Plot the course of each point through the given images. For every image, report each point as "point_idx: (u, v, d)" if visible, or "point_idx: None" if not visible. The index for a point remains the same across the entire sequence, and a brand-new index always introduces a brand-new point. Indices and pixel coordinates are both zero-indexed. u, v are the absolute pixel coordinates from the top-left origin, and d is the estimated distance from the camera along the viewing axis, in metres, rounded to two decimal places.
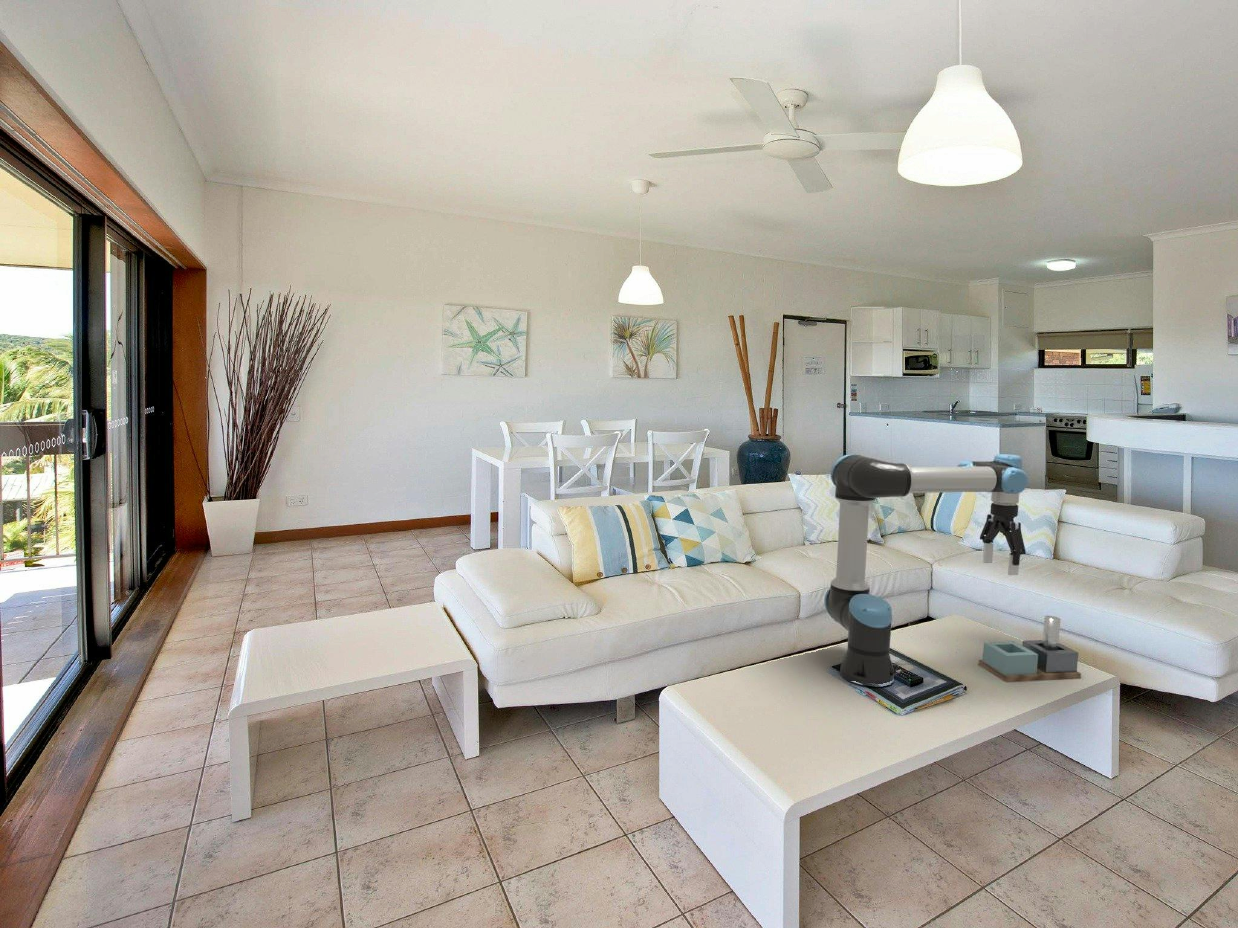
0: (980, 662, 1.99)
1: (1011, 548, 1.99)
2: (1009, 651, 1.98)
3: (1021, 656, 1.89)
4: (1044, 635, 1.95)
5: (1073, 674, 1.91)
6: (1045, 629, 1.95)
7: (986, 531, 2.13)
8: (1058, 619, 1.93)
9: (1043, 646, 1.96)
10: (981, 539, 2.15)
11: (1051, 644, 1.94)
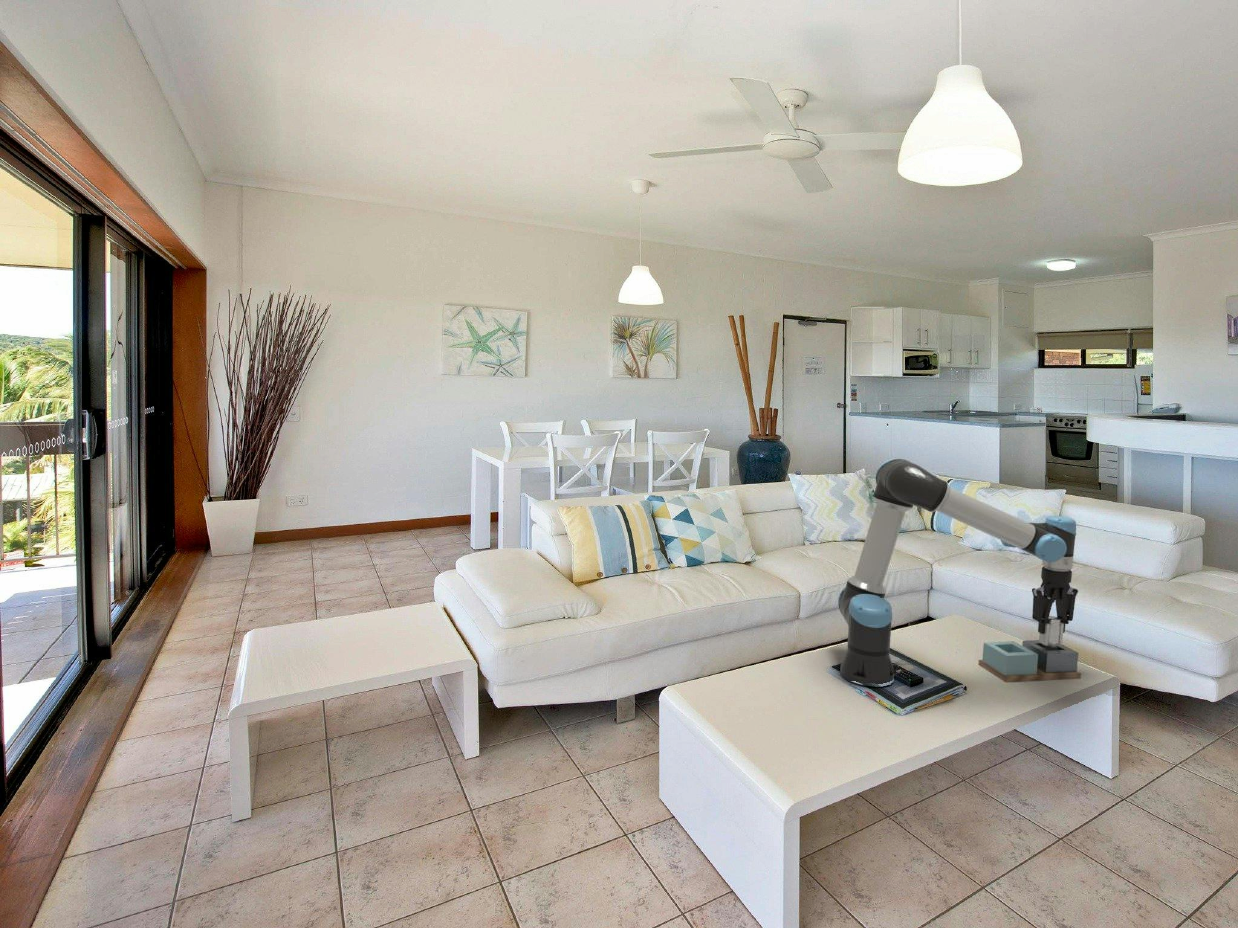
0: (980, 662, 1.99)
1: None
2: (1009, 651, 1.98)
3: (1021, 656, 1.89)
4: None
5: (1073, 674, 1.91)
6: None
7: (1065, 606, 1.95)
8: (1058, 619, 1.93)
9: (1043, 646, 1.96)
10: None
11: (1051, 644, 1.94)
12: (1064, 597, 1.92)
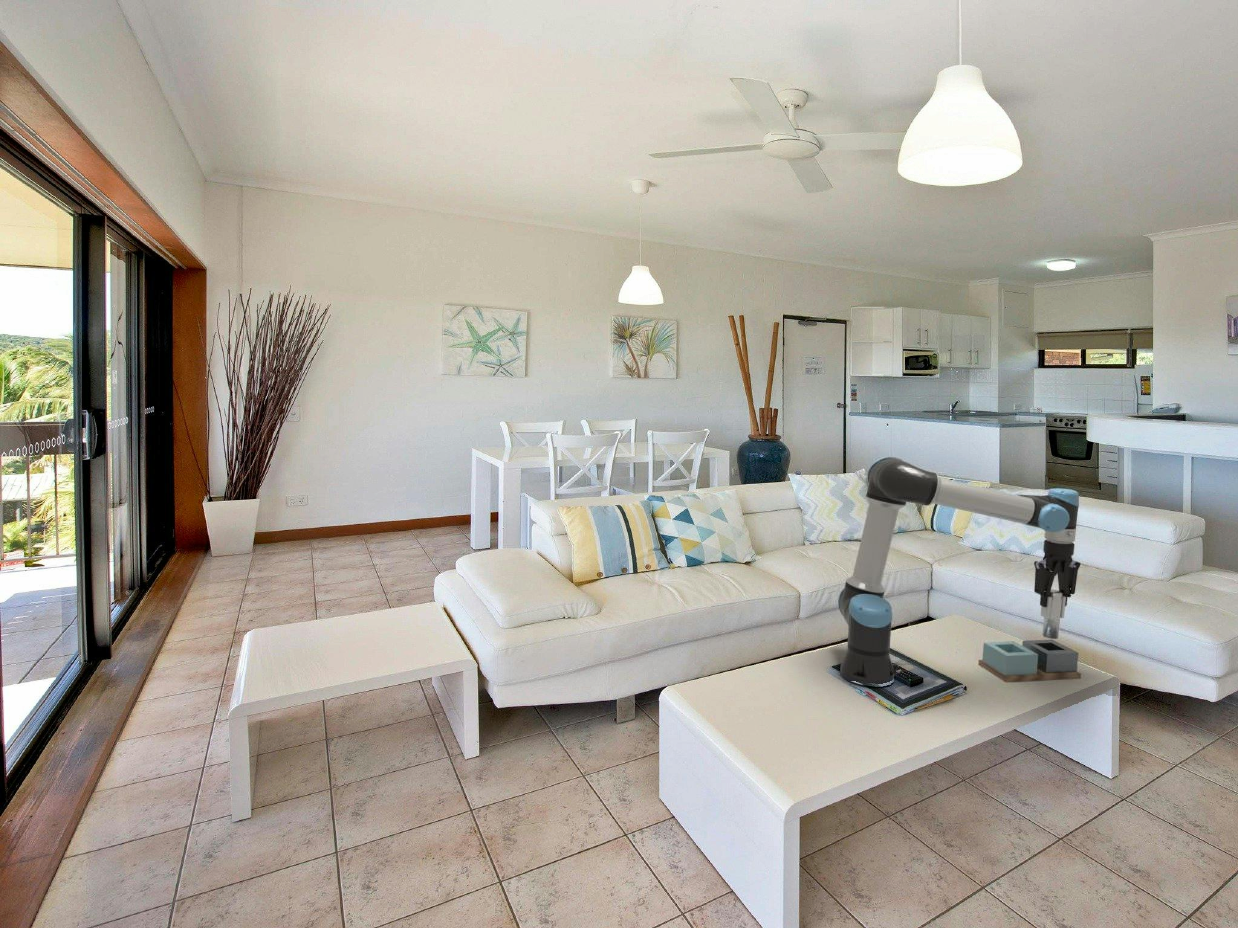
0: (980, 662, 1.99)
1: None
2: (1009, 651, 1.98)
3: (1021, 656, 1.89)
4: None
5: (1073, 674, 1.91)
6: None
7: (1067, 580, 1.94)
8: (1060, 592, 1.92)
9: (1045, 620, 1.95)
10: None
11: (1053, 617, 1.93)
12: (1066, 570, 1.91)
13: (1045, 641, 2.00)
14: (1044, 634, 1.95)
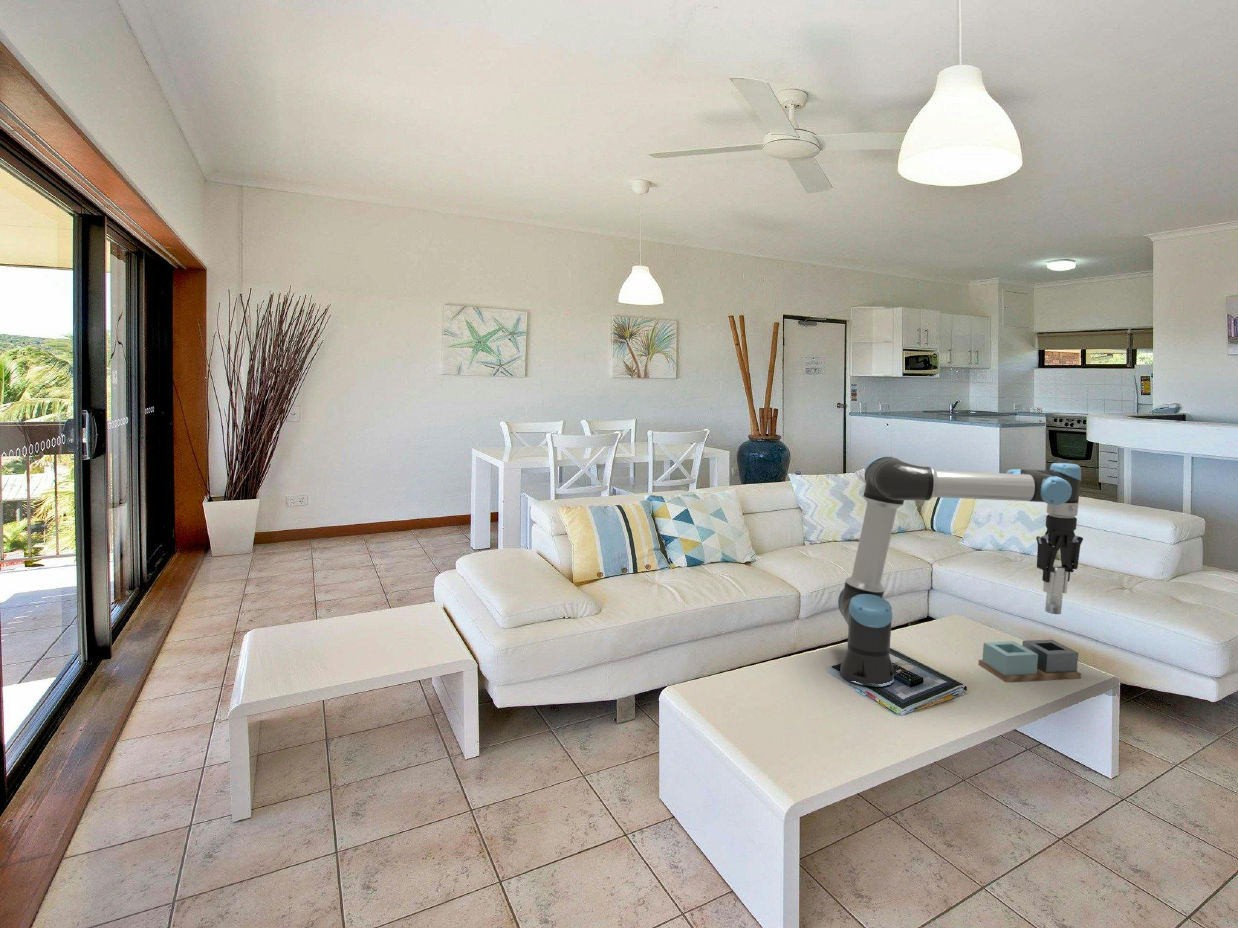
0: (980, 662, 1.99)
1: None
2: (1009, 651, 1.98)
3: (1021, 656, 1.89)
4: None
5: (1073, 674, 1.91)
6: None
7: (1070, 555, 1.93)
8: (1063, 567, 1.92)
9: (1047, 595, 1.94)
10: None
11: (1056, 592, 1.92)
12: (1069, 545, 1.90)
13: (1045, 641, 2.00)
14: (1047, 610, 1.94)
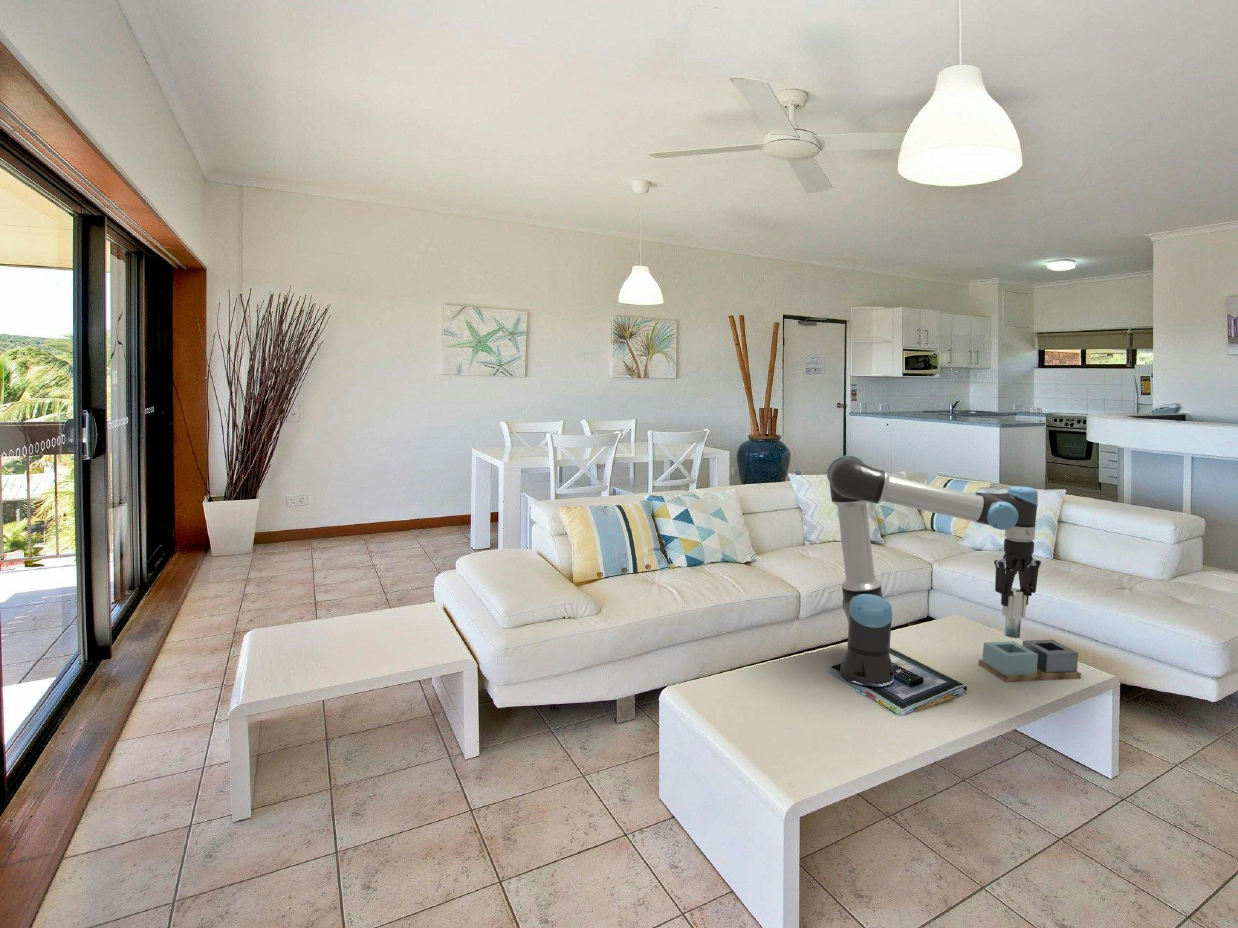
0: (980, 662, 1.99)
1: None
2: (1009, 651, 1.98)
3: (1021, 656, 1.89)
4: None
5: (1073, 674, 1.91)
6: None
7: (1028, 578, 1.93)
8: (1021, 591, 1.91)
9: (1006, 619, 1.93)
10: None
11: (1014, 616, 1.91)
12: (1027, 569, 1.90)
13: (1045, 641, 2.00)
14: (1006, 633, 1.93)
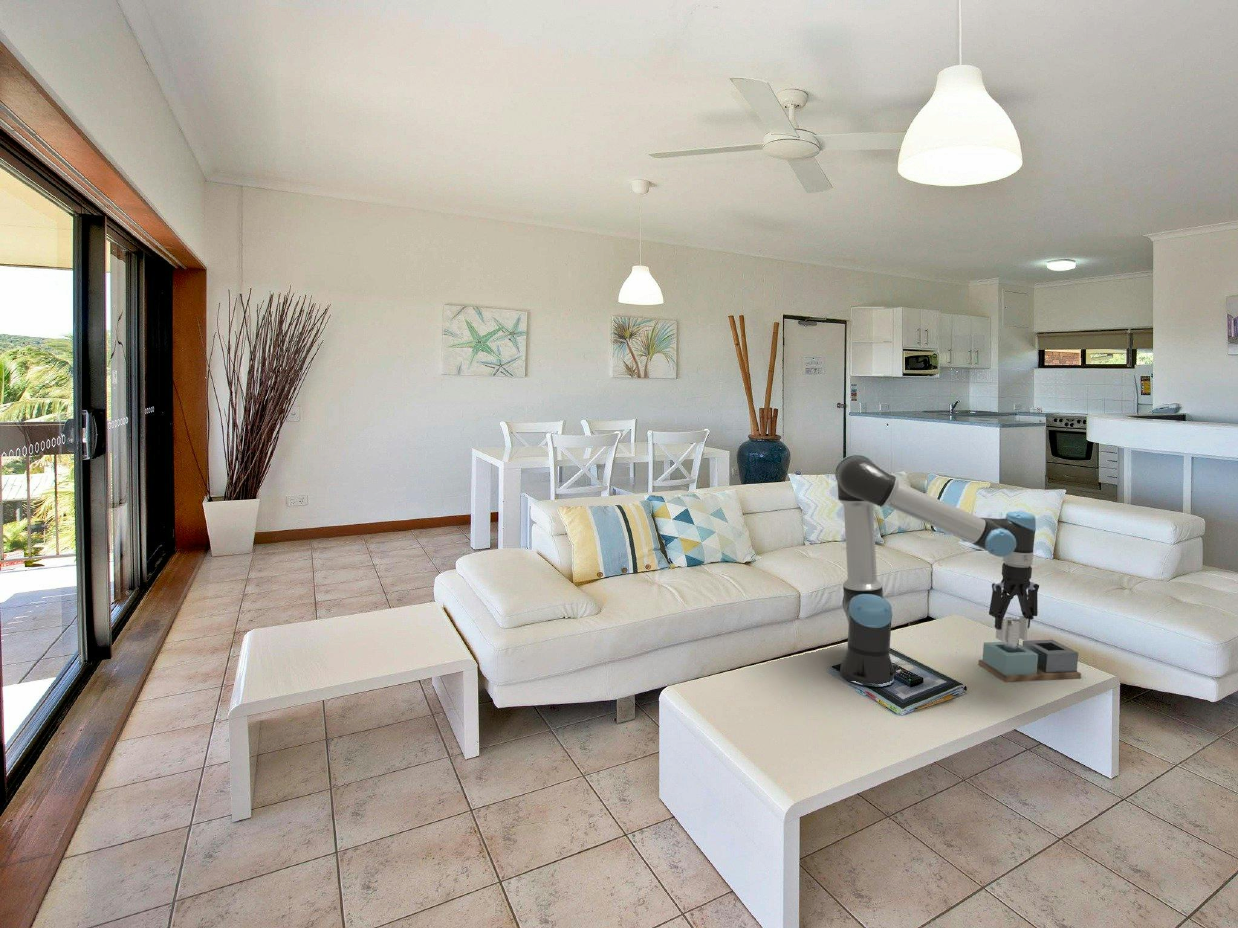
0: (980, 662, 1.99)
1: None
2: None
3: (1021, 656, 1.89)
4: None
5: (1073, 674, 1.91)
6: (1005, 631, 1.93)
7: (1029, 602, 1.94)
8: (1018, 621, 1.92)
9: (1003, 648, 1.94)
10: None
11: (1011, 645, 1.92)
12: (1025, 593, 1.91)
13: (1045, 641, 2.00)
14: None
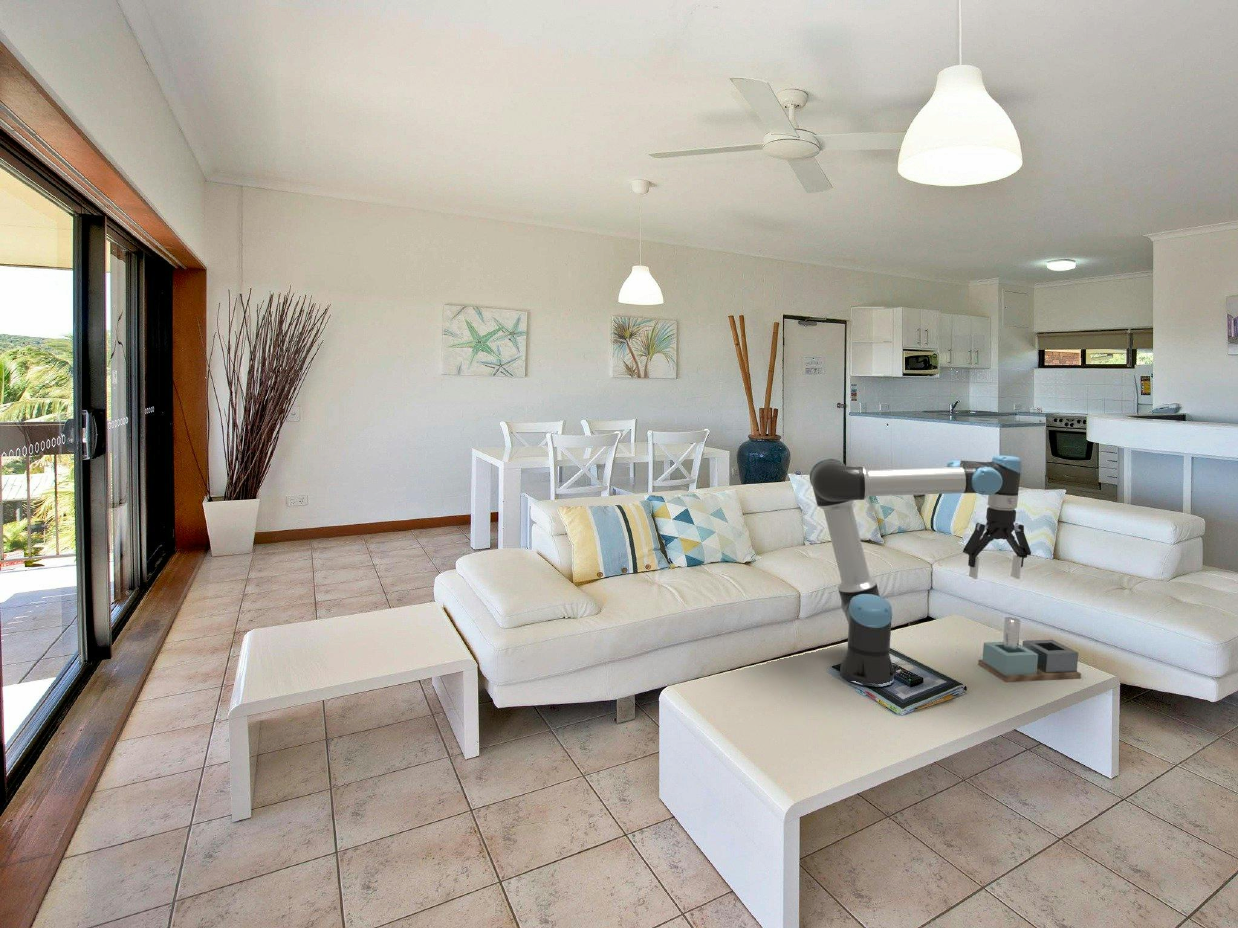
0: (980, 662, 1.99)
1: None
2: None
3: (1021, 656, 1.89)
4: (1004, 637, 1.94)
5: (1073, 674, 1.91)
6: (1005, 631, 1.93)
7: (1019, 543, 1.94)
8: (1018, 621, 1.92)
9: (1003, 648, 1.94)
10: None
11: (1011, 645, 1.92)
12: (1011, 536, 1.91)
13: (1045, 641, 2.00)
14: None
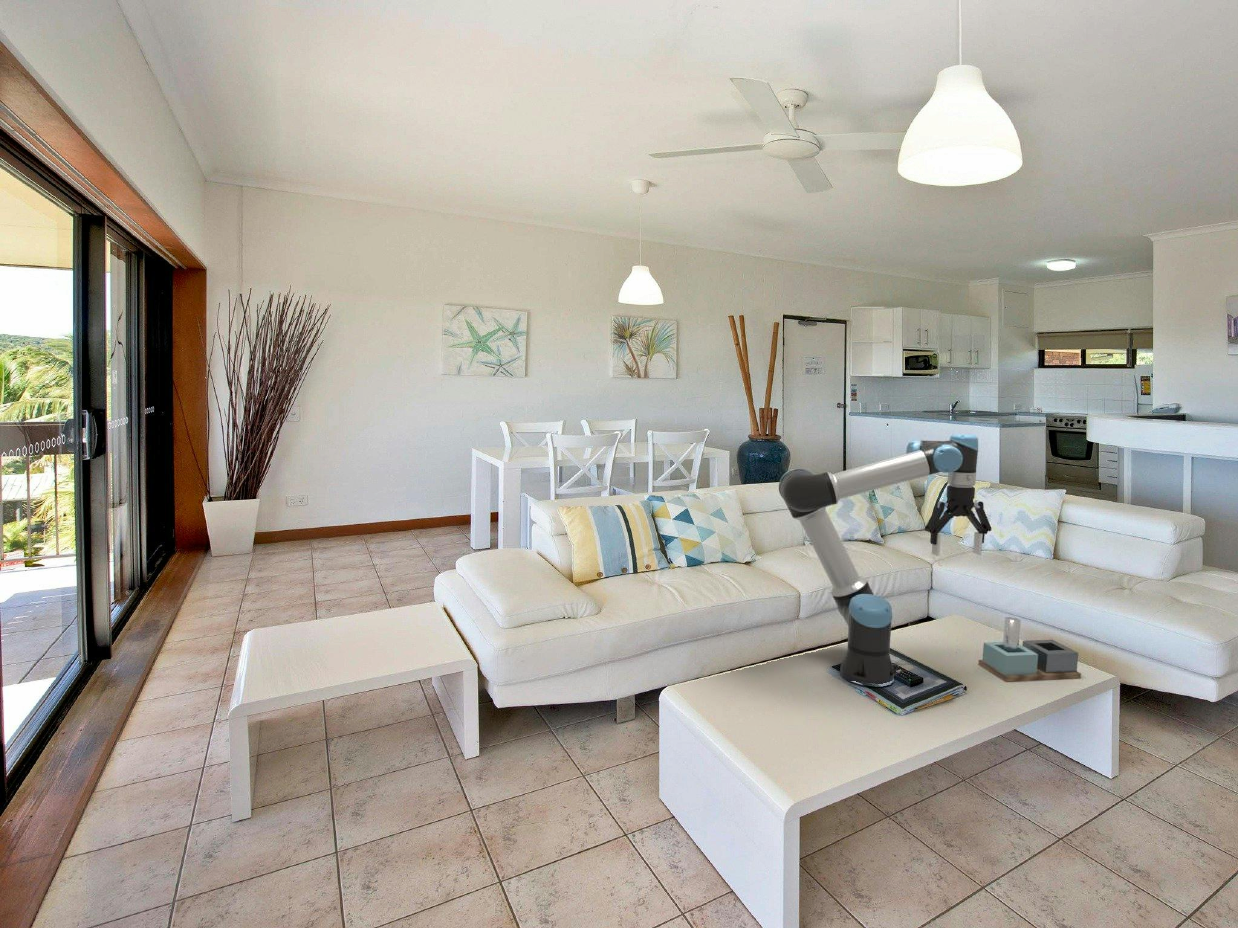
0: (980, 662, 1.99)
1: None
2: None
3: (1021, 656, 1.89)
4: (1004, 637, 1.94)
5: (1073, 674, 1.91)
6: (1005, 631, 1.93)
7: (980, 520, 1.97)
8: (1018, 621, 1.92)
9: (1003, 648, 1.94)
10: None
11: (1011, 645, 1.92)
12: (971, 512, 1.94)
13: (1045, 641, 2.00)
14: None
